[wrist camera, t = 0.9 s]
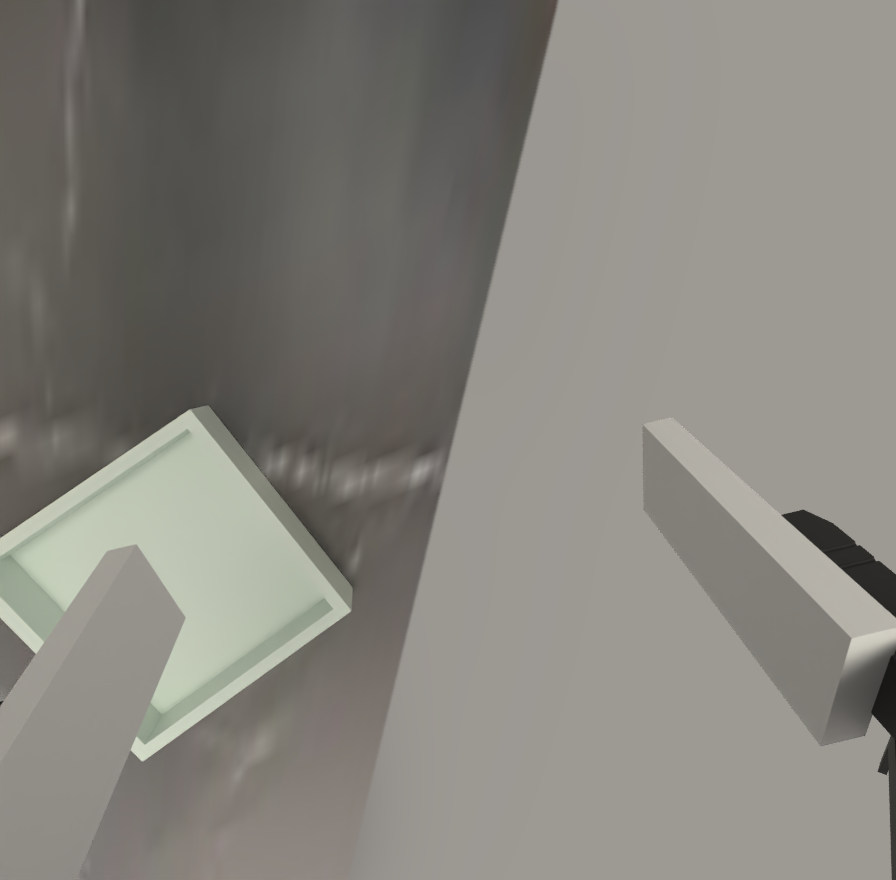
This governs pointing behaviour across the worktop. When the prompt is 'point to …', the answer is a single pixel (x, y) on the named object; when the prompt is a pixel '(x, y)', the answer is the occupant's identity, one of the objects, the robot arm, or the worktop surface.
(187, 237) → the worktop surface
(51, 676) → the robot arm
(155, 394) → the worktop surface
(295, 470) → the worktop surface
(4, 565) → the bin
